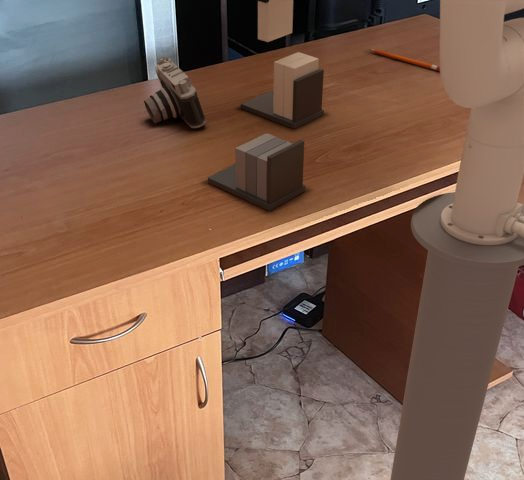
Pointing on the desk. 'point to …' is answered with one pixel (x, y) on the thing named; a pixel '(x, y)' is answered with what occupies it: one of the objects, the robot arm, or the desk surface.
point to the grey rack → (264, 172)
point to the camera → (174, 96)
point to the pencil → (406, 59)
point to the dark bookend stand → (292, 92)
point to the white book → (274, 19)
